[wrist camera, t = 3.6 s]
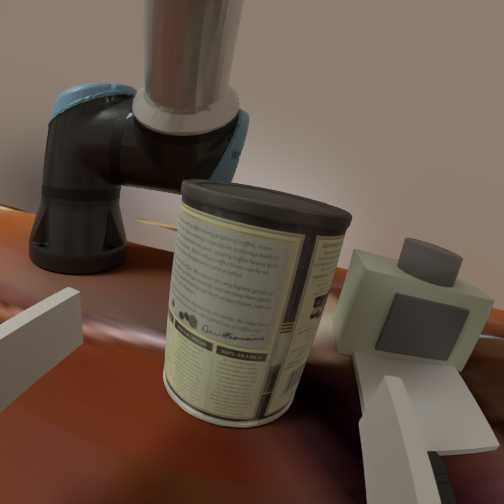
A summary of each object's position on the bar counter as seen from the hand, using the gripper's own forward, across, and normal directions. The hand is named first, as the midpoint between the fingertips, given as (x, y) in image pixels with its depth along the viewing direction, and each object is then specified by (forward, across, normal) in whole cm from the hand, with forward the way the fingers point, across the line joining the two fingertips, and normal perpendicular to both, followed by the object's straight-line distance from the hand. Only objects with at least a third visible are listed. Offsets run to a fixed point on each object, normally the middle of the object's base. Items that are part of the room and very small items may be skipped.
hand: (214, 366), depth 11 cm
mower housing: (+14, +17, -8) cm, 23 cm away
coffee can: (+9, 0, -8) cm, 12 cm away
